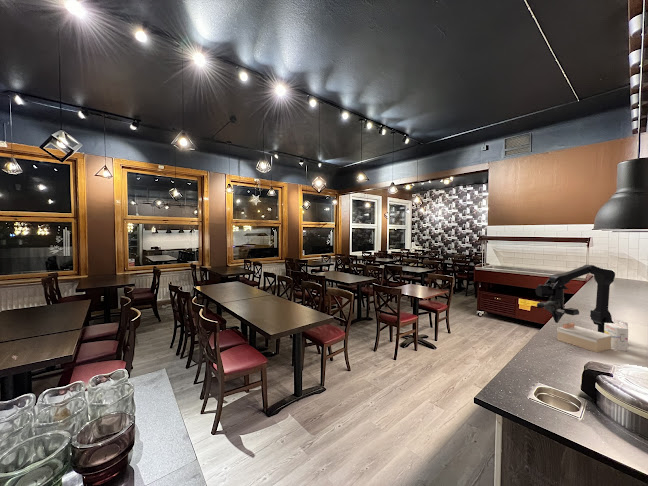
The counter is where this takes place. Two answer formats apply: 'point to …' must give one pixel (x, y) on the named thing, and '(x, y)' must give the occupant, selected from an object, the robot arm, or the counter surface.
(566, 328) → the lid
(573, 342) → the wooden box
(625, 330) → the ink cartridge box
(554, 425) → the counter surface
